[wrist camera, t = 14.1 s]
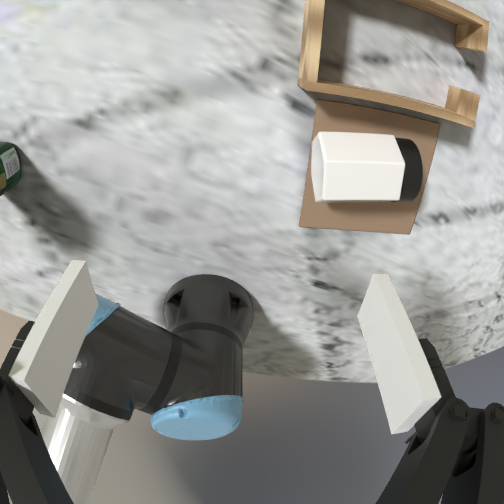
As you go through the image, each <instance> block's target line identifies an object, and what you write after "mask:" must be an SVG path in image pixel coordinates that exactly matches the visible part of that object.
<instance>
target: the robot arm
mask: <svg viewBox="0 0 504 504" xmlns="http://www.w3.org/2000/svg"><path fill="white" fill-rule="evenodd" d="M120 305H121V304H119V303H114V302H112V301H110V300H108V299H106V298H104V297H102V296H100V295H98V294H95V291H94V288H93V285H92V281H91V278H90V275H89V271H88V268H87V264H86V261H75V260H72V261H71V263H70V264H69V266H68V267H67V269H66V270H65V272H64V274H63V275H62V277H61V278H60V280H59V282H58V283H57V285H56V287H55V288H54V290H53V292H52V293H51V295H50V297H49V298H48V300H47V302H46V303H45V305H44V307H43V309H42V311H41V312H40V314H39V316H38V318H37V319H36V321H35V322H33V321H28V323H26V324H25V325H24V326H23V327H22V328H21V330H20V332H19V333H18V335H17V337H16V340H15V341H14V343H13V344H12V348H10V350H9V352H8V354H7V356H6V358H5V361H4V362H3V364H2V366H1V369H0V504H10V503H9V498H8V493H9V495H10V498H11V500H12V503H13V504H89V502H90V499H91V496H92V493H93V490H94V486H95V483H96V480H97V477H98V474H99V471H100V467H101V465H102V461H103V458H104V456H105V453H106V450H107V447H108V444H109V441H110V438H111V435H112V433H113V429H114V428H115V427H117V426H119V425H122V424H125V423H127V422H129V420H130V418H131V416H132V412H133V410H134V409H138V410H140V411H143V412H146V413H148V414H151V415H152V416H151V423H152V427H153V428H154V430H156V431H158V432H159V433H160V434H162V435H164V436H168V437H171V438H175V439H182V440H208V439H214V438H219V437H222V436H225V435H228V434H229V433H231V432H233V431H234V430H235V429H236V428H237V427H238V426H239V424H240V421H241V413H242V404H243V398H242V346H243V344H244V342H245V339H246V337H247V335H248V332H249V330H250V328H251V325H252V322H253V303H252V300H251V298H250V296H249V294H248V293H247V292H246V291H245V290H244V289H243V288H242V287H241V286H240V285H238V284H237V283H235V282H233V281H231V280H229V279H227V278H224V277H220V276H216V275H194V276H190V277H187V278H184V279H182V280H180V281H179V282H177V283H176V284H174V285H173V286H172V288H171V289H170V290H169V292H168V294H167V297H166V301H165V305H164V317H165V323H166V328H167V330H166V329H164V328H162V327H160V326H158V325H156V324H154V323H152V322H150V321H148V320H146V319H144V318H142V317H140V316H138V315H136V314H134V313H132V312H130V311H129V310H127V309H125V308H123V307H121V306H120ZM357 317H358V320H359V323H360V326H361V329H362V333H363V336H364V339H365V342H366V345H367V348H368V352H369V355H370V358H371V362H372V365H373V368H374V372H375V375H376V379H377V382H378V386H379V389H380V392H381V396H382V400H383V404H384V407H385V411H386V415H387V419H388V423H389V427H390V430H391V434H396V433H401V432H407V431H409V430H410V429H411V427H413V426H414V425H415V428H416V432H415V433H414V434H413V435H412V436H411V437H409V438H408V439H407V441H406V442H405V443H408V442H410V443H409V445H408V447H407V449H406V451H405V453H404V455H403V457H402V459H401V461H400V463H399V464H398V466H397V468H396V470H395V472H394V474H393V475H392V477H391V479H390V481H389V482H388V484H387V486H386V487H385V489H384V491H383V493H382V494H381V496H380V498H379V499H378V501H377V502H376V504H438V503H439V501H440V498H441V496H442V494H443V496H442V501H441V504H504V407H503V406H502V405H501V404H498V403H491V404H490V405H488V406H487V407H486V408H485V409H478V408H470V407H468V405H467V404H466V403H465V402H464V401H463V400H461V399H458V398H456V397H455V395H454V393H453V390H452V387H451V385H450V383H449V380H448V378H447V375H446V373H445V370H444V368H443V367H442V363H441V361H440V359H439V356H438V354H437V352H436V350H435V347H434V346H433V345H432V344H431V343H430V342H429V341H428V340H427V339H418V338H417V336H416V333H415V331H414V329H413V327H412V324H411V322H410V320H409V318H408V316H407V313H406V311H405V309H404V307H403V305H402V303H401V301H400V299H399V297H398V295H397V292H396V290H395V288H394V286H393V284H392V282H391V280H390V278H389V276H388V274H373V275H372V278H371V281H370V284H369V287H368V289H367V292H366V295H365V297H364V300H363V303H362V305H361V308H360V310H359V313H358V316H357ZM34 407H35V408H36V409H37V410H38V411H39V412H40V413H41V414H44V415H47V417H46V420H45V423H44V426H43V430H42V433H41V432H40V429H39V427H38V424H37V421H36V419H35V416H34V415H33V413H32V411H33V409H34ZM7 490H8V493H7Z"/></svg>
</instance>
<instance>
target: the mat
mask: <svg viewBox="0 0 504 504" xmlns="http://www.w3.org/2000/svg"><path fill="white" fill-rule="evenodd" d="M439 128H440V124H438V123H434V122H430V121H427V120H423V119H419V118H415V117H411V116H406V115H402V114H398V113H393V112H389V111H384V110H379V109H374V108H369V107H364V106H358V105H352V104H346V103H340V102H333V101H326V100H319V99H317V102H316V110H315V118H314V126H313V134H312V141H313V140H314V138H315V137H316V135H317V134H318V133H319V132H320V131H324V132H355V133H373V134H388V135H394V136H395V138H406V139H410V140H412V141H413V142H414V143H415V144H416V145H417V147H418V149H419V152H420V155H421V158H422V164H423V179H422V185H421V189H420V192H419V194H418V196H417V197H416V199H415V200H414V201H412V202H409V203H402V202H333V203H317V202H316V201H315V195H314V189H313V183H312V177H311V157H312V141H311V149H310V156H309V163H308V170H307V177H306V184H305V191H304V198H303V204H302V211H301V217H300V223H299V227H312V228H328V229H343V230H358V231H372V232H386V233H399V234H410V232H411V229H412V226H413V223H414V220H415V217H416V213H417V210H418V207H419V204H420V201H421V197H422V194H423V191H424V187H425V184H426V180H427V177H428V173H429V169H430V165H431V162H432V158H433V154H434V150H435V146H436V141H437V137H438V133H439Z"/></svg>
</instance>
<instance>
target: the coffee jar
mask: <svg viewBox="0 0 504 504" xmlns="http://www.w3.org/2000/svg"><path fill="white" fill-rule="evenodd" d="M20 175H21V166H20V160H19V156H18V153H17V151H16V149H15V147H14V146H13V145H12V144H11V143H8V142H0V196H1V195H3V194H4V193H5V192H7V191H8V190H9V189H11V188H12V187H13V186H14V185H16V184H17V183H18V181H19V179H20Z"/></svg>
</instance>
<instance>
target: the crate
mask: <svg viewBox="0 0 504 504" xmlns="http://www.w3.org/2000/svg"><path fill="white" fill-rule="evenodd" d="M394 1H397V2H400V3H403V4H406V5H409V6H412V7H415V8H418V9H420V10H423V11H426V12H428V13H431V14H433V15H436V16H438V17H441V18H443V19H446V20H448V21H450V22H452V23H455V24H457V29H456V40H455V47H457V48H460V49H466V50H473V51H480V52H487V42H488V30H489V21H487V20H485V19H483V18H481V17H480V16H478V15H476V14H474V13H472V12H470V11H468V10H466V9H464V8H462V7H460V6H458V5H456V4H454V3H452V2H449V1H447V0H394ZM324 4H325V0H305V11H304V23H303V34H302V46H301V56H300V67H299V77H298V86H300V87H301V88H303V89H305V90H306V91H314V92H321V93H328V94H335V95H341V96H347V97H353V98H359V99H364V100H369V101H374V102H379V103H384V104H389V105H393V106H397V107H402V108H406V109H410V110H414V111H418V112H422V113H425V114H429V115H433V116H436V117H440V118H443V119H446V120H450V121H453V122H456V123H459V124H462V125H465V126H468V127H471V128H474V124H475V119H476V114H477V109H478V104H479V99H480V95H478V94H475V93H472V92H469V91H466V90H463V89H460V88H457V87H453V86H450V85H449V91H448V97H447V102H446V107H445V108H443V107H439V106H436V105H433V104H429V103H426V102H422V101H419V100H415V99H411V98H408V97H404V96H400V95H396V94H391V93H387V92H383V91H378V90H373V89H369V88H364V87H359V86H353V85H348V84H342V83H336V82H329V81H323V80H317V78H318V68H319V59H320V49H321V38H322V28H323V16H324Z"/></svg>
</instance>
